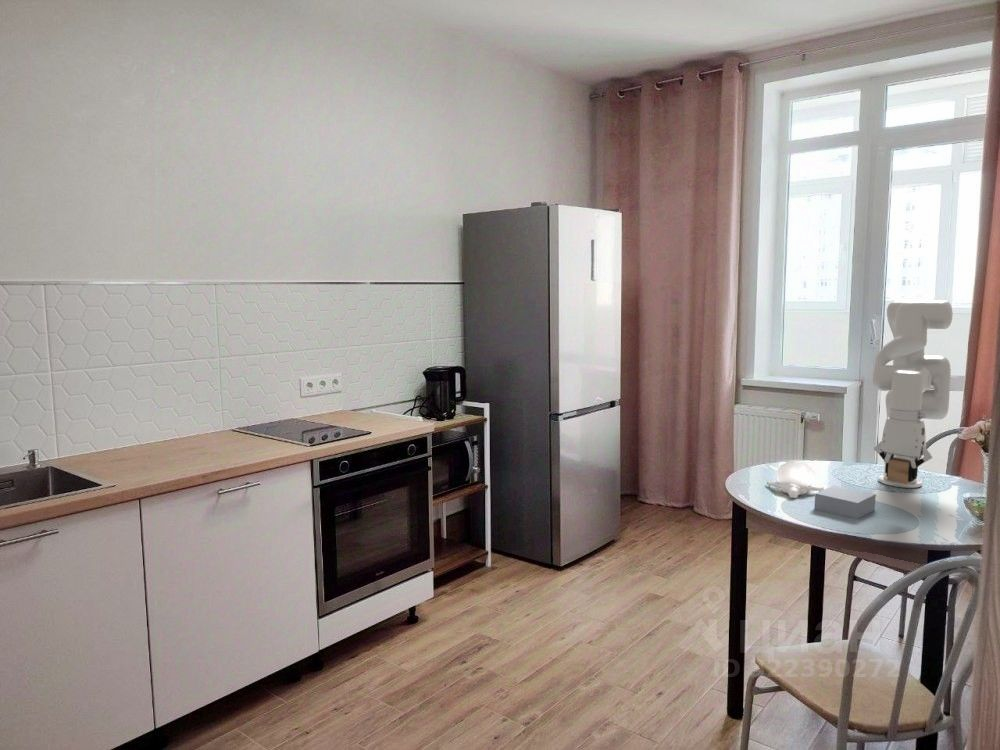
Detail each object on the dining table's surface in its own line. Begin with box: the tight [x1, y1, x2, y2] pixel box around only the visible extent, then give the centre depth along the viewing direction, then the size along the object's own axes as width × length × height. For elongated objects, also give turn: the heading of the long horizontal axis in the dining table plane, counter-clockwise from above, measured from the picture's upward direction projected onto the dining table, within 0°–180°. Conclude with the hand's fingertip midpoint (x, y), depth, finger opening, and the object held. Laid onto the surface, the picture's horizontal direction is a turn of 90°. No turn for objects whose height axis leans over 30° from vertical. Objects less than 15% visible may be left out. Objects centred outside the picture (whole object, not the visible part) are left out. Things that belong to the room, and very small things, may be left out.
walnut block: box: [887, 456, 911, 484], centre depth 195 cm, size 5×5×6 cm
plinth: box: [813, 485, 877, 520], centre depth 203 cm, size 12×12×5 cm
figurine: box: [766, 459, 825, 499], centre depth 224 cm, size 17×9×25 cm
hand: (900, 477), depth 195 cm, fingers closed on walnut block, 5 cm apart
